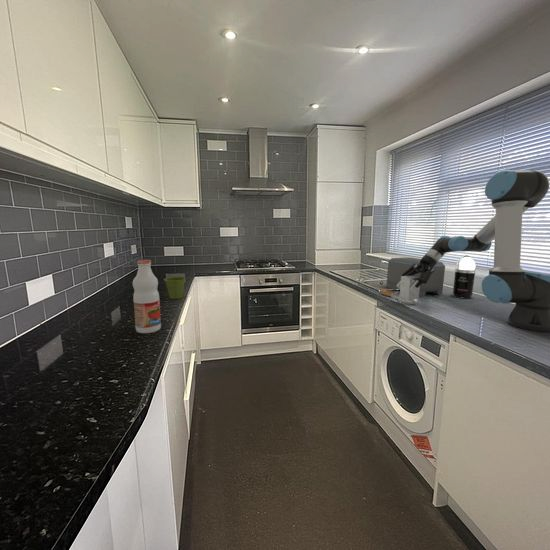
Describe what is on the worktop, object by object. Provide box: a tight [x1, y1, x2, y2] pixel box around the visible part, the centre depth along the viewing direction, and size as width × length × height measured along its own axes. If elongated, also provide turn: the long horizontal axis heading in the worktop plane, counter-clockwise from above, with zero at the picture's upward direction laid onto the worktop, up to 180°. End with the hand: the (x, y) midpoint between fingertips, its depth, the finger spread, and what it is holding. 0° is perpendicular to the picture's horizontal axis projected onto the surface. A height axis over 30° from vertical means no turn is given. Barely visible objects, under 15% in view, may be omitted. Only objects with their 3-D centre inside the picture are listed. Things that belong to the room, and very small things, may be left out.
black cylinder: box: [452, 254, 477, 299], centre depth 175 cm, size 10×10×25 cm
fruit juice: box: [132, 259, 162, 334], centre depth 115 cm, size 9×9×28 cm
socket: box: [399, 276, 420, 300], centre depth 160 cm, size 7×7×12 cm
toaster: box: [386, 257, 446, 298], centre depth 192 cm, size 19×33×20 cm, turn 21°
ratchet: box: [380, 289, 419, 306], centre depth 169 cm, size 27×10×8 cm, turn 15°
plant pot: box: [163, 276, 187, 300], centre depth 167 cm, size 12×12×11 cm
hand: (404, 289), depth 160 cm, fingers open, 9 cm apart
